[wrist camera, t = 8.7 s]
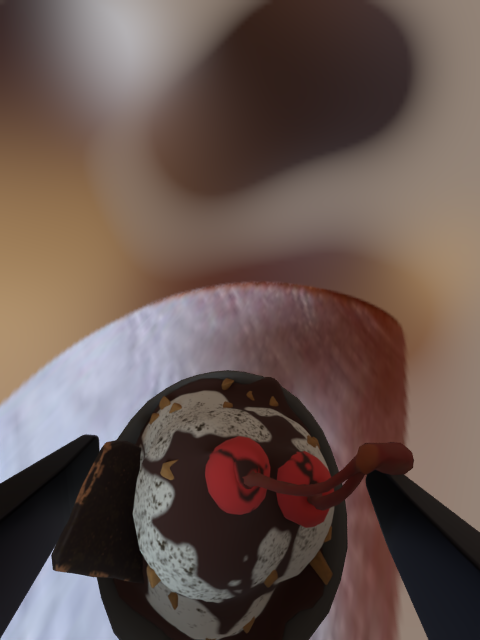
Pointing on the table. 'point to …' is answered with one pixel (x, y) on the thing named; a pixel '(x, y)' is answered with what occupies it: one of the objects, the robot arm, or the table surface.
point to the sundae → (218, 514)
